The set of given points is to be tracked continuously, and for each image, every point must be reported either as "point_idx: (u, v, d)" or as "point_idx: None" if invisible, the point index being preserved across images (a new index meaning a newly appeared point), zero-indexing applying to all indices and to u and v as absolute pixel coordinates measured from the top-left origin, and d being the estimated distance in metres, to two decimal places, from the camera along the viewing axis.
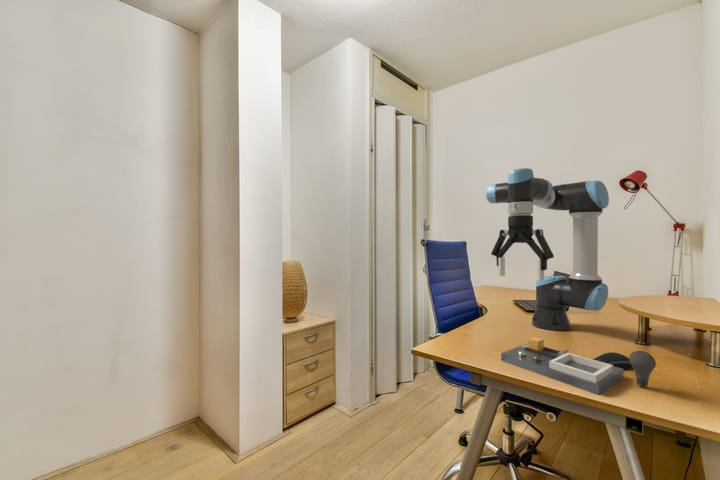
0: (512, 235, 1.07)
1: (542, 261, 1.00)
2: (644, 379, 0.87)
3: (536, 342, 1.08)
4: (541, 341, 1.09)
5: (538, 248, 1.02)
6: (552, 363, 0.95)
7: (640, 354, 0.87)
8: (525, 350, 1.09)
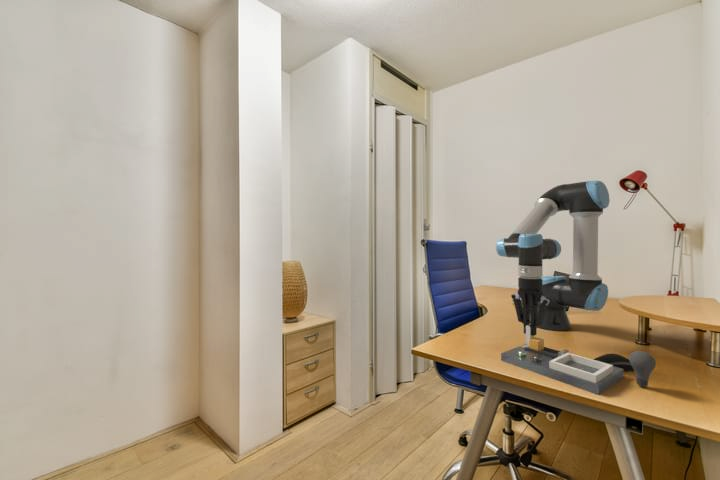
0: (523, 297, 1.12)
1: (532, 327, 1.11)
2: (644, 379, 0.87)
3: (536, 342, 1.08)
4: (541, 341, 1.09)
5: (535, 315, 1.10)
6: (552, 363, 0.95)
7: (640, 354, 0.87)
8: (525, 350, 1.09)
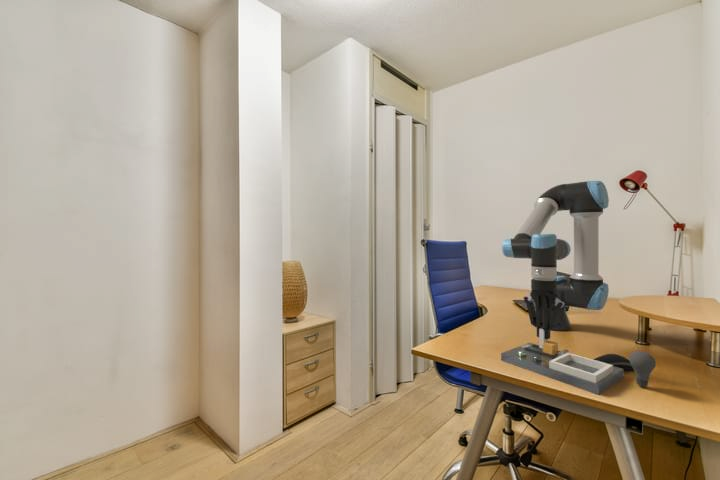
0: (536, 299, 1.08)
1: (546, 331, 1.07)
2: (644, 379, 0.87)
3: (550, 346, 1.04)
4: (555, 345, 1.05)
5: (549, 317, 1.07)
6: (552, 363, 0.95)
7: (640, 354, 0.87)
8: (525, 350, 1.09)
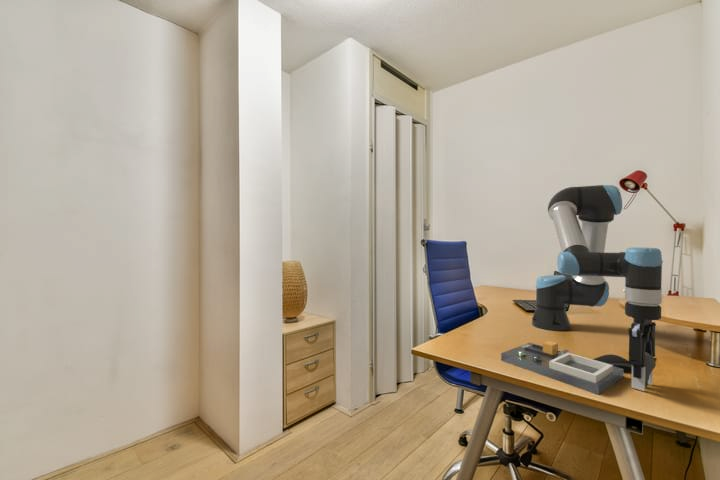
0: None
1: None
2: None
3: (550, 346, 1.04)
4: (555, 345, 1.05)
5: None
6: (552, 363, 0.95)
7: None
8: (525, 350, 1.09)
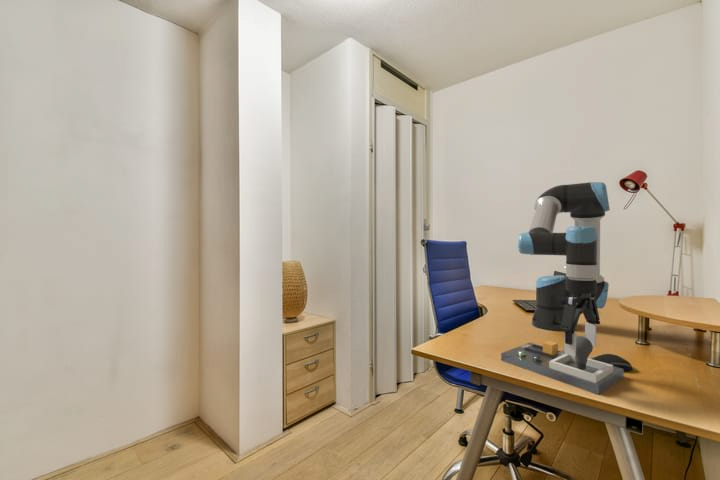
0: None
1: None
2: (582, 362, 0.92)
3: (550, 346, 1.04)
4: (555, 345, 1.05)
5: None
6: (552, 363, 0.95)
7: (578, 338, 0.93)
8: (525, 350, 1.09)
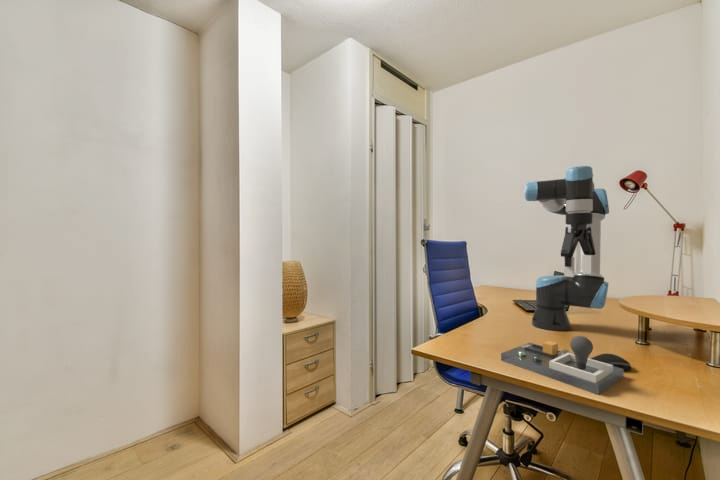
0: None
1: None
2: (582, 362, 0.92)
3: (550, 346, 1.04)
4: (555, 345, 1.05)
5: None
6: (552, 363, 0.95)
7: (578, 338, 0.93)
8: (525, 350, 1.09)
